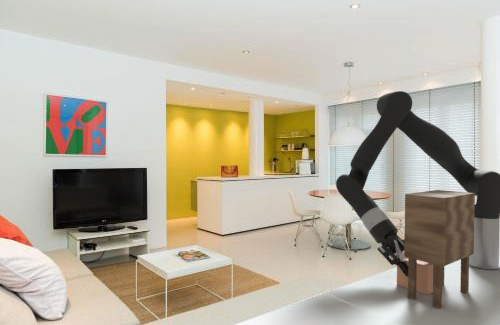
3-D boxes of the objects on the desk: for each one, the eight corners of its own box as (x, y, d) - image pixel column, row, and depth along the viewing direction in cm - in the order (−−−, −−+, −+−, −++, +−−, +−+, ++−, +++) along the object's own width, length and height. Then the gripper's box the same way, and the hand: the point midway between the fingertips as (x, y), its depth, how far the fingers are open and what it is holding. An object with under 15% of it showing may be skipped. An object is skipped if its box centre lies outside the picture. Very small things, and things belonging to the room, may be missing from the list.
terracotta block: (404, 281, 102) (405, 255, 102) (435, 290, 95) (435, 263, 95) (396, 284, 100) (397, 257, 100) (427, 294, 93) (427, 266, 92)
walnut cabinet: (431, 280, 103) (433, 189, 102) (472, 293, 93) (474, 193, 93) (399, 295, 92) (400, 193, 91) (442, 310, 83) (444, 198, 82)
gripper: (372, 220, 100) (411, 271, 91) (399, 215, 109) (436, 261, 99) (357, 234, 105) (393, 285, 95) (384, 228, 113) (418, 274, 104)
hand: (415, 272), depth 98 cm, fingers open, 5 cm apart
